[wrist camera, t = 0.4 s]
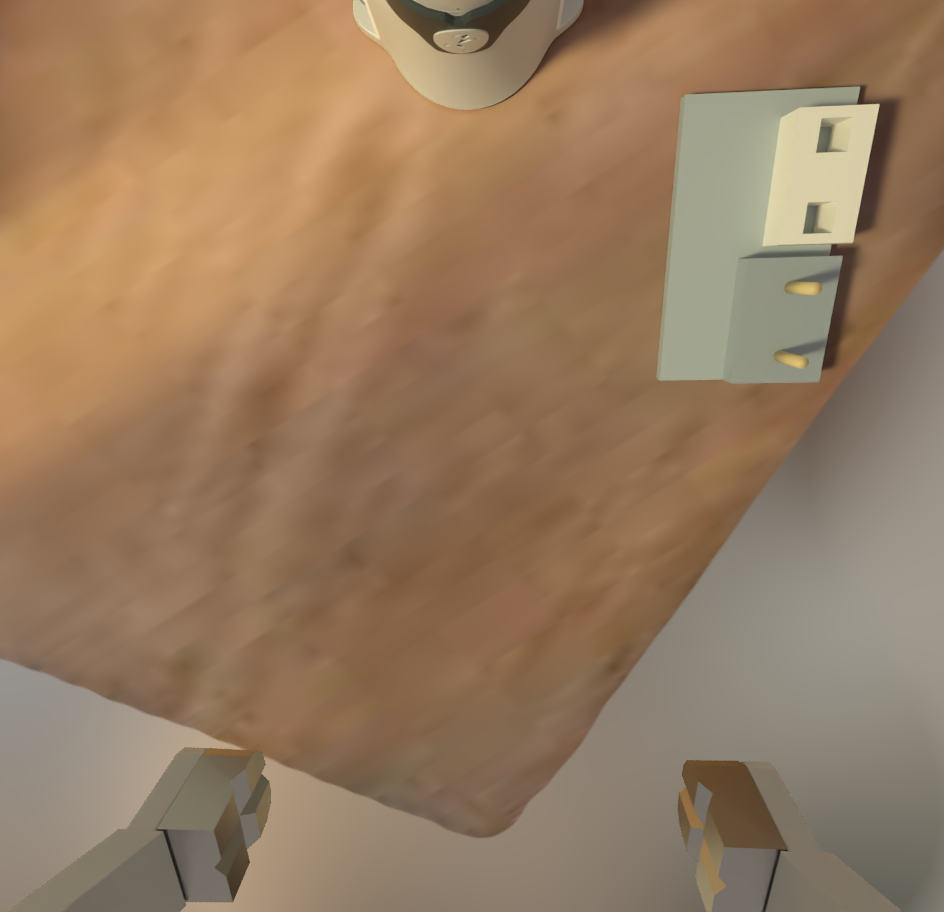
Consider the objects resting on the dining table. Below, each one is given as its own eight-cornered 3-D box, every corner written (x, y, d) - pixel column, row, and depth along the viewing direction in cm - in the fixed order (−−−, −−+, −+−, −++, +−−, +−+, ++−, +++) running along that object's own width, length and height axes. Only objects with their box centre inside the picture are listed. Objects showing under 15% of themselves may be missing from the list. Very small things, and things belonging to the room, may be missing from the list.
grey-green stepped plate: (680, 99, 45) (713, 68, 38) (850, 91, 44) (914, 58, 37) (656, 378, 53) (679, 393, 46) (800, 375, 52) (845, 391, 45)
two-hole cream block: (780, 117, 44) (799, 107, 41) (855, 114, 44) (879, 103, 41) (762, 246, 47) (779, 244, 45) (831, 244, 47) (852, 242, 44)
